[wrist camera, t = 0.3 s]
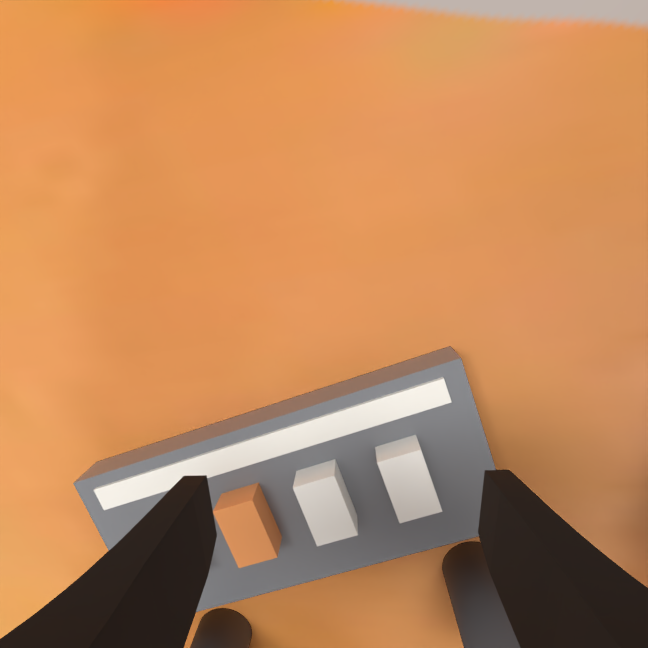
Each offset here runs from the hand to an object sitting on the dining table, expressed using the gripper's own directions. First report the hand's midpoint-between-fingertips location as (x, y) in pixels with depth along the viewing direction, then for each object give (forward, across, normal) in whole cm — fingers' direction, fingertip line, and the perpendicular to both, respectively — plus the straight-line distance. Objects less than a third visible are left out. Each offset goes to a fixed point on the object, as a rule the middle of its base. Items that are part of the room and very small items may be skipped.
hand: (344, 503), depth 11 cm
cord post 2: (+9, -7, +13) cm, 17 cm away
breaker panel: (+10, +3, +8) cm, 13 cm away
